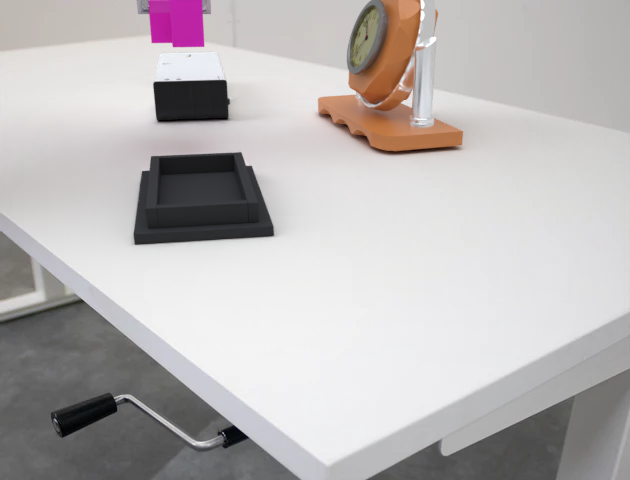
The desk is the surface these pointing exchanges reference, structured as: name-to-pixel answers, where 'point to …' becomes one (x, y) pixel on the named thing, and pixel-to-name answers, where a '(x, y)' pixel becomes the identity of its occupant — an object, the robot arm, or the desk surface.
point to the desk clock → (392, 78)
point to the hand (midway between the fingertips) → (175, 13)
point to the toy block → (177, 22)
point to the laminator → (190, 86)
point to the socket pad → (200, 200)
